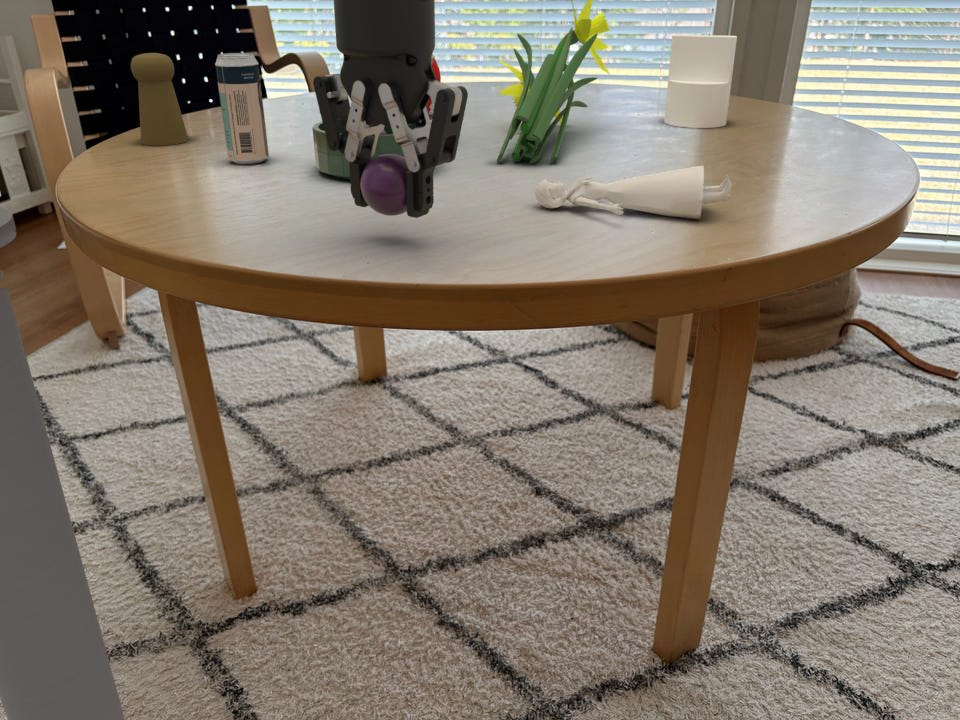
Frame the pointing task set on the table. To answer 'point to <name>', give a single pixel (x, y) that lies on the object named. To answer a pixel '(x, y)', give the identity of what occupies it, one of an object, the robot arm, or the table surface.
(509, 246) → the table surface
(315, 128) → the bowl
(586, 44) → the daffodil flowers
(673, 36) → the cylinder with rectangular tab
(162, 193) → the table surface
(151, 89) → the olive pawn
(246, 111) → the beer can
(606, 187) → the woman figurine
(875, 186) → the table surface
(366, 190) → the ball front
